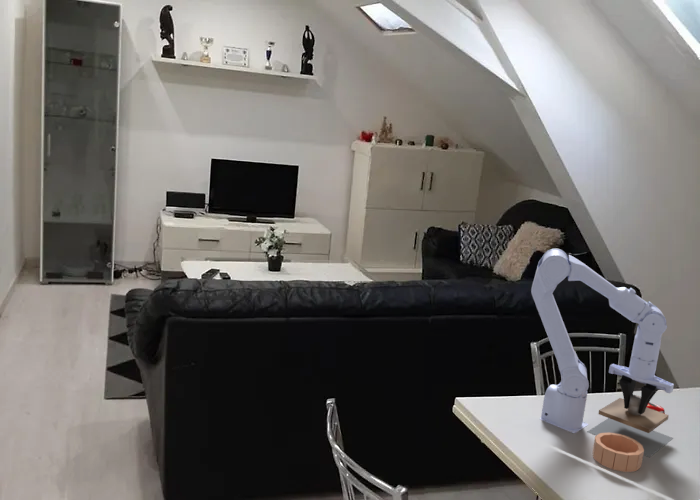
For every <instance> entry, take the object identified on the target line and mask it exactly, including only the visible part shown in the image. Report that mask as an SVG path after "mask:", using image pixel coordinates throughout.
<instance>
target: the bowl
mask: <svg viewBox="0 0 700 500" xmlns="http://www.w3.org/2000/svg"><path fill="white" fill-rule="evenodd" d="M594 436H595V437H594V441H593V445H592V446H593V447H592V450H591V451H592V457H593V460H595V461H596V462H598V464H599V465H602V466H604V467H606V468H608V471H610V470H613V471H618V472H624V473H630V472H631V473H632V472H636V471H638V470H640V468H642V464H643V458H644V455H643V454H644V449H643V446H642V445H641V444H640V443H639V442H637V441H636V440H634V439H632V438H630V437H627V436H625V435H622V434H616V433H610V432H609V433H600V434H598V435H594ZM604 467H601V468H604Z"/></svg>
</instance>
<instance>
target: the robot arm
mask: <svg viewBox="0 0 700 500" xmlns="http://www.w3.org/2000/svg"><path fill="white" fill-rule="evenodd" d="M566 278H567V281H568V282H575V281H577V282H578V281H580V282H582V283H583V284H585V285H587V286H588V287H590V288H591V289H592V290H594V291H596V292H597V293H599V294H600V295H602V296H604V297H605V298H607V299H608V305H609V307H610V308H611V309H613V310H615V311H616V312H617V313H619V314H621V316H623V317H624V318H626V319H627V320H629V322H630V321H631V322H632V323H635V324H638V325H637V328H636V333H635V335H634V340H633V345H632V350H631V356H630V360H629V367H627V366H625V365H624V366H623V365H619V364H615V363H611V364H610V365H609V369H608V373H609V374H612V375H613V374H614V375H617V376H621V378H620V379H619V380H618V384H619V386H620V388H621V392H622V397H623V399H624V408H625V409H628V407H629V401H630V396H631V395H634V391H635V387H636V384H637V382H638V383H640V384H644V386H642V387H641V392H640V394H641V395H640V396H641V402H640V406H639V412H638V413H639V414H643V413H644V412H645V409H646V407H647V405H648V403H649V402H650V401H651V400H652V399H653V397H654V396H655V394H657V392H658V391H659V390H661V391H664V392H665V393H667V394H671V393H673V392H674V386H675V384H674V383H672V382H670V381H667V380H666V379H663V378H661V377H658V376H657V375H655V374H656V370H657V364H658V360H659V354H660V350H661V344H662V341H661V340H662V338H663V334H664V333H665V332H666V330H667V328H668V325H667V319H666V317H665V315H664V313H663V311H662V310H661V309H660V308H659V307H658V306H657V305H655V304H654V303H652V302H651V301H650V300H649V301H646V300H645V299H643V298H641V297H640V296H639V295H637V292H636V290H635V289H634V288H632V287H630V288H627V287H625V286H621V287H616V286H615V285H614V284H612V283H611V282H610V281H608V280H607V279H606V278H604V277H603V276H602V275H600V274H599V273H597V272H596V271H595V270H594V269H592V268H591V267H589V266H588V265H586V263H584V262H582V261H581V260H579V259H578V258H576V257H574V256H572V254H571V255H570V254H567V253H566V252H565V251H564V250H563V249H560V248H551V249H548V250H546V252H544V254H543V255H542V257H540V259H539V261H538V263H537V266H536V270H535V274H534V278H533V281H532V284H531V289H530V291H531V296H532V299H533V301H534V303H535V307H536V310H537V312H538V315H539V317H540V319H541V322H542V325H543V327H544V330H545V332H546V335H547V337H548V340H549V343H550V345H551V348H552V351H553V353H554V356H555V358H556V363H557V365H558V366H557V367H558V370H559V373H560V377H561V380H560V382H559V383H558V384H554V383H553V384H549V386H548V387H547V388H546V390H545V393H544V397H543V401H542V402H543V403H542V408H541V409H542V410H541V416H540V417H539V420H541V421H543V422H545V423H547V424H550V425H553V426H555V427H558V428H560V429H562V430H565V431H566V432H570V433H572V434H577V433H578V432H579V431H581V430H583V429H584V428H586V427H587V426H589V425H590V424H589V423H587V422H586V421H585V422H584V416H585V411H586V405H587V404H586V403H587V400H588V399H587V398H588V393H589V392H588V390H589V387H590V385H589V384H590V383H589V380H588V370H587V366H586V365H585V363H583V362H582V361H581V360H580V359H579V357H578V354H577V353H576V351H575V350H574V346H573V344H572V341H571V338H570V336H569V333H568V330H567V328H566V325H565V322H564V321H563V316H562V315H561V312H560V309H559V307H558V305H557V302H556V299H555V296H554V294H553V293H554V291H555V290H556V288H557V286H558V285H559V284H560V283H561V282H562V281H564V280H565V279H566Z"/></svg>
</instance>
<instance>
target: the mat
mask: <svg viewBox="0 0 700 500" xmlns="http://www.w3.org/2000/svg"><path fill="white" fill-rule="evenodd" d="M586 432H587V433H589V434H591V435H594V436H596V435H598V434H600V433H609V432H610V433H616V434H622V435H625V436H627V437H630V438H632V439H634V440H636V441H637V442H639V443H640V444H641V445H642V446H643V449H644V454H643V456H645V457H646V458H647V457H648V458H651V457H652V456H654V454H655V453H657V452H659V450H660V449H662V448H663V447H664V446H666V445H667V444H668V443H669V442H671V441H672V440H673V439H674V438H673V437H671V436H669V435H666V434H664V433H661V432H659V431H655V429H654V430H653V431H651V432H650V433H647V432H644V431H641V430H639V429H636V428H633V427H631V426H628V425H626V424H623V423H620V422H618V421H615V420H613V419H610V418H606V419H604V421H602V422H599V423H598V424H597V425H595V426H594V427H592V428H591V429H589V430H587V431H586Z"/></svg>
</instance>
